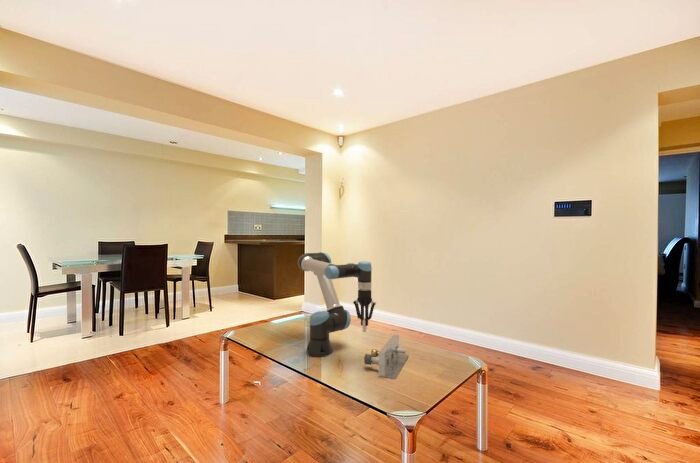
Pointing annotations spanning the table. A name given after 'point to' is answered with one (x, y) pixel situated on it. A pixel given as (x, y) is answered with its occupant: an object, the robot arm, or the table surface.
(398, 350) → the knob far
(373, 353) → the silver and brass cylinder
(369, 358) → the knob near
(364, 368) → the table surface
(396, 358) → the panel
